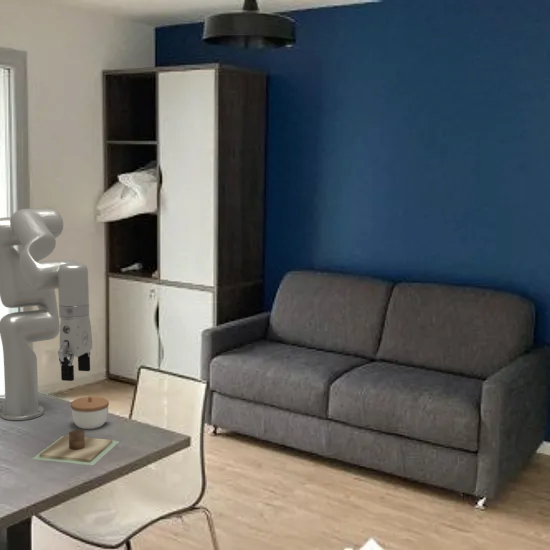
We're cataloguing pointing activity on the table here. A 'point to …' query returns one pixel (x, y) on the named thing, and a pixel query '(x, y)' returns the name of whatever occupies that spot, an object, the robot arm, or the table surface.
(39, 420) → the table surface
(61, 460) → the mat
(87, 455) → the cover
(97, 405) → the lidded jar
